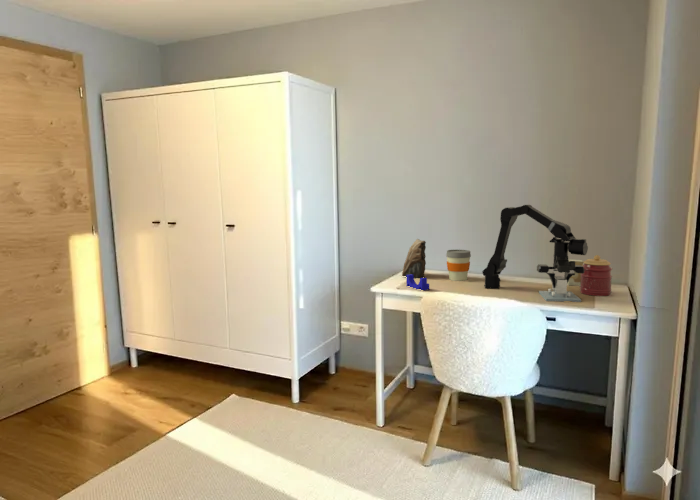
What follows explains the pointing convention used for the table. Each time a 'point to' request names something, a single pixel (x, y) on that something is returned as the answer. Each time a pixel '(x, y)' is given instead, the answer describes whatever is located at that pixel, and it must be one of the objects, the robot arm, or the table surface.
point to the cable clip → (422, 284)
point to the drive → (560, 285)
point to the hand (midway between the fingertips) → (559, 288)
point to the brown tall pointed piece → (415, 260)
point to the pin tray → (559, 296)
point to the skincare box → (577, 277)
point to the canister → (596, 277)
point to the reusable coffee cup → (458, 264)
